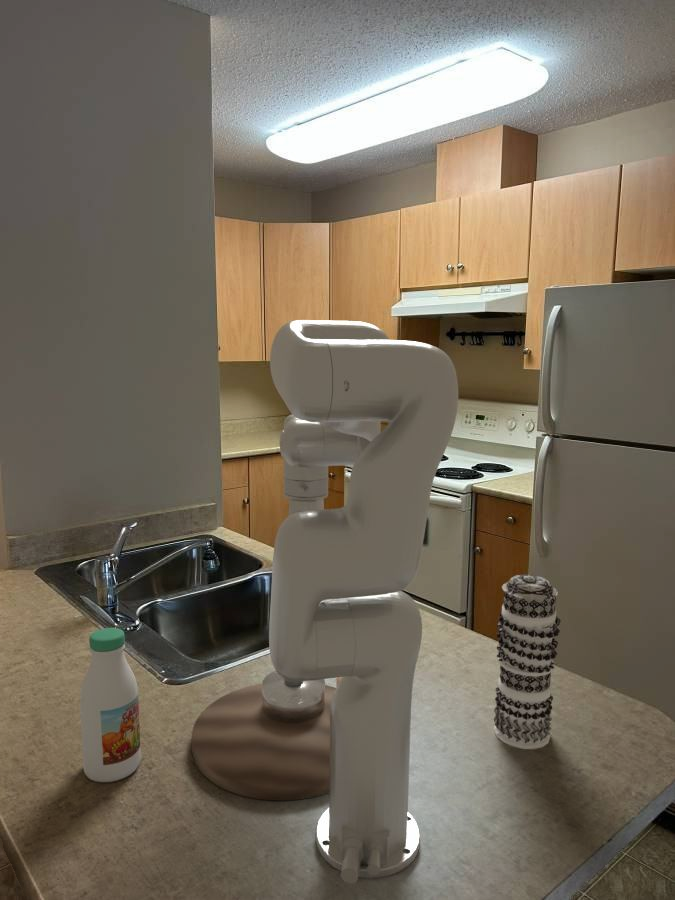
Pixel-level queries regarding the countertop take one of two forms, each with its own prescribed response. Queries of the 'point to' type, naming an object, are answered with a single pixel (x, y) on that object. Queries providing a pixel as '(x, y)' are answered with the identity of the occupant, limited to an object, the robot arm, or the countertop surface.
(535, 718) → the decorative candle
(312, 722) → the turntable
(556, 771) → the countertop surface
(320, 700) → the lid
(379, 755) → the robot arm
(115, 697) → the milk bottle
